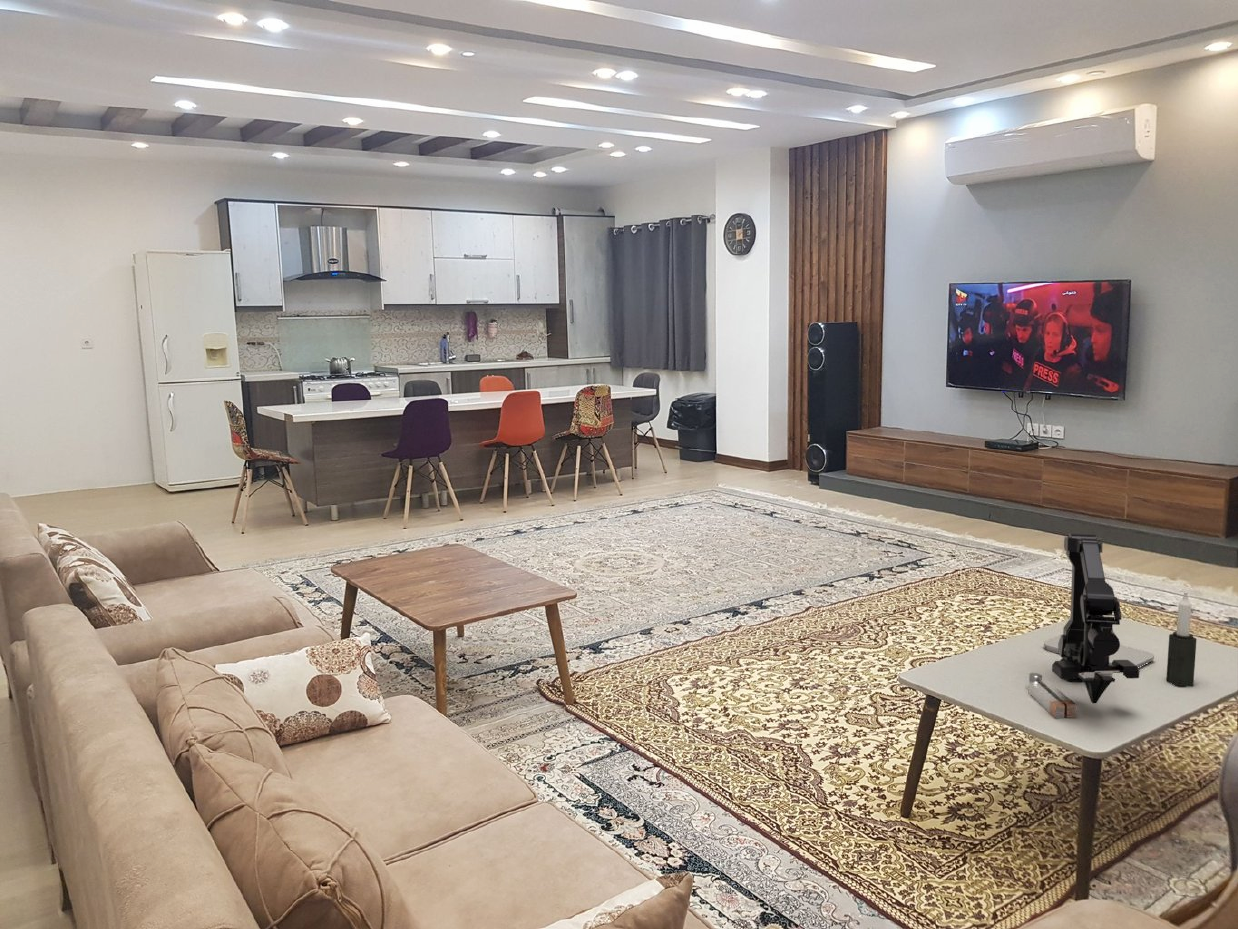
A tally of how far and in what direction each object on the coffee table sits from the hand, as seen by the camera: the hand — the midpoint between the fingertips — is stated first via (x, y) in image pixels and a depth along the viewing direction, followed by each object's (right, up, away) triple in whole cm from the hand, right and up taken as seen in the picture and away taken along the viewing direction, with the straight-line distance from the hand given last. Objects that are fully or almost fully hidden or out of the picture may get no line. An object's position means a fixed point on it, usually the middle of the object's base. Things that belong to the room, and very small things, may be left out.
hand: (1093, 702), depth 232 cm
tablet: (+21, +3, +40) cm, 45 cm away
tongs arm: (-6, -2, +6) cm, 9 cm away
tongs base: (-8, -2, +7) cm, 11 cm away
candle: (+31, +1, +18) cm, 36 cm away
